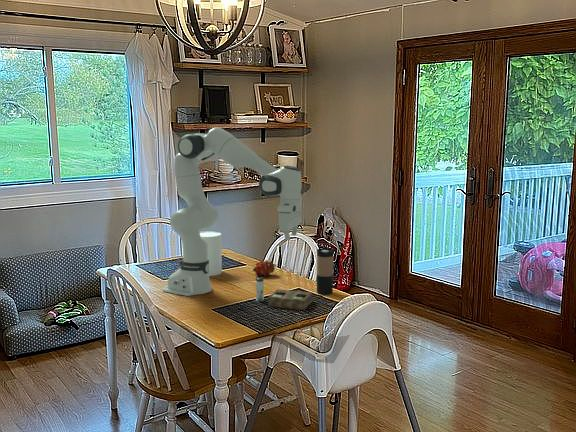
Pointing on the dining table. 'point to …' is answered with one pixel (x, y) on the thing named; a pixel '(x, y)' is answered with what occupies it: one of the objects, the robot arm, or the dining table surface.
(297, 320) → the dining table surface
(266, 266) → the dragon fruit
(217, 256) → the canister
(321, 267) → the travel mug
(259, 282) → the steel plug
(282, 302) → the socket block
